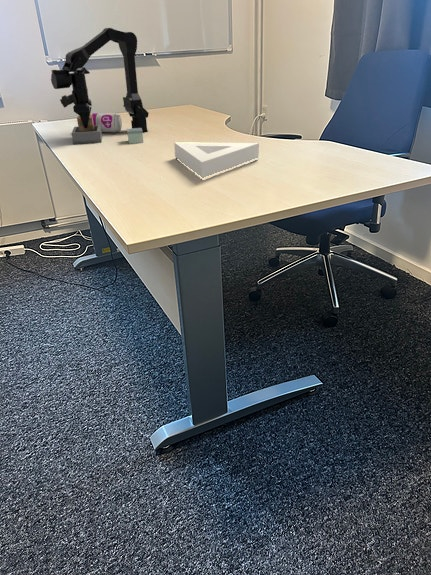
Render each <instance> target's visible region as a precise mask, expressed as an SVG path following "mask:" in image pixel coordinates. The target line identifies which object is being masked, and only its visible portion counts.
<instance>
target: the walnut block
mask: <svg viewBox="0 0 431 575" xmlns="http://www.w3.org/2000/svg"><path fill="white" fill-rule="evenodd" d="M76 121H77V127H79V131H89V130H94V122H93V116H92V115H90V116H89V122H88V127H87V128H84V125H83V123H82V120H81V118H80V116H79V115H77V117H76Z"/></svg>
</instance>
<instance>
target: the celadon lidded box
mask: <svg viewBox="0 0 431 575" xmlns="http://www.w3.org/2000/svg"><path fill="white" fill-rule="evenodd" d="M126 133H127V138H128V144H129V145H130V144H132V145H133V144H143V143H144V136H143V135H144V134H143V133H144V132H143V131H142V128H132V127H131V128H126Z"/></svg>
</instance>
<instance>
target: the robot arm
mask: <svg viewBox="0 0 431 575" xmlns="http://www.w3.org/2000/svg"><path fill="white" fill-rule="evenodd" d="M110 41H112V42H114V43H116V44H118V47H119V50H120V53H121V55H122V57H123V66H124V74H125V84H126V86H125V87H126V96H123V97H122V101H123V106H122V107H123V108H124V110H125V111H126V113H128V115H129V117H131V119H132V120H130V121H131V122H130V123H131V128H142V131H143V133H146V132H149V130H148V124H147V118H149V115H150V114H149V111H148V110H146V109H145V107H144V105H143V100H142V99H141V96H140V94H139V88H138V80H137V79H138V78H137V68H136V67H137V66H136V52H137V49H138V37H137V35H136V34H135V33H134V32H133V31H122V30H118V29H114V28H112V27H104V28H103V29H102V31H101V32H99V33H98V34H96V35H95V36H94V37H93V38H91V39H90V40H88V42H86V43H84V45H82V46H80V47H78V48H75V49H72V50H70V51H68V52H67V53H66V54H65V61H64V64H63V66H62V69H51V70H50V71H51V76H50V81H51V82H50V83H51V85H52V87H53V89H55V90H60V89H68V88H69V89H70V88H71V87H72V91H71V94H68V95H66V94H64V95H62V96H61V98H60V99H59V101H60V103H61V105H62V107H63V108H67V107H68V106H70V105H73V107H72V108H73V113H75V114H76V115H77V116H80V118H81V120H82V123H83V125H84V128H87V127H88V122H89V116H90V113H91V112H92V106H93V104H92V100H91V99H90V98H89V90H88V86H87V80H86V75H88V74H90V71H89V70H87V68H86V67H84V66H86V64H87V63H88V61H89V60H90V58H91V57H92V56H93V55H94V54H95V53H96V52H97V51H99V50H100V49H102V48H103V47H104V46H105V45H106V44H108V43H109V42H110Z"/></svg>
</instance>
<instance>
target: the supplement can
mask: <svg viewBox="0 0 431 575" xmlns="http://www.w3.org/2000/svg"><path fill="white" fill-rule="evenodd" d="M90 115H92V116H93V122H94V126H95V125H101V130H102V133H113V134H114V133H118V132H120V131H122V128H123V124H122V118H121V115H120V114H118V113H113V112H112V113H105V112H102V113H101V112H100V113H97V112H96V113H90Z"/></svg>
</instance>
